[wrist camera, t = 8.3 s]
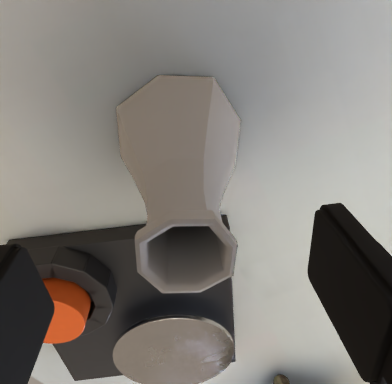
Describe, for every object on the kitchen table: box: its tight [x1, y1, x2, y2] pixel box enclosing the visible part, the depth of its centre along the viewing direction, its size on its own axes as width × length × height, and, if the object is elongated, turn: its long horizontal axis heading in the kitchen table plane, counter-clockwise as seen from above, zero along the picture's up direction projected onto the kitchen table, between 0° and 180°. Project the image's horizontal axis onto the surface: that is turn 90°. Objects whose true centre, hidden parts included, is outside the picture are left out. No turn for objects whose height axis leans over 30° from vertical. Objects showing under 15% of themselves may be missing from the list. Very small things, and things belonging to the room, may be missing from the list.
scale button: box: [42, 278, 91, 344], centre depth 20 cm, size 4×4×2 cm
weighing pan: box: [113, 314, 234, 384], centre depth 24 cm, size 9×9×1 cm
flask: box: [116, 75, 241, 293], centre depth 13 cm, size 7×7×10 cm
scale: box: [6, 215, 235, 381], centre depth 24 cm, size 16×16×3 cm
